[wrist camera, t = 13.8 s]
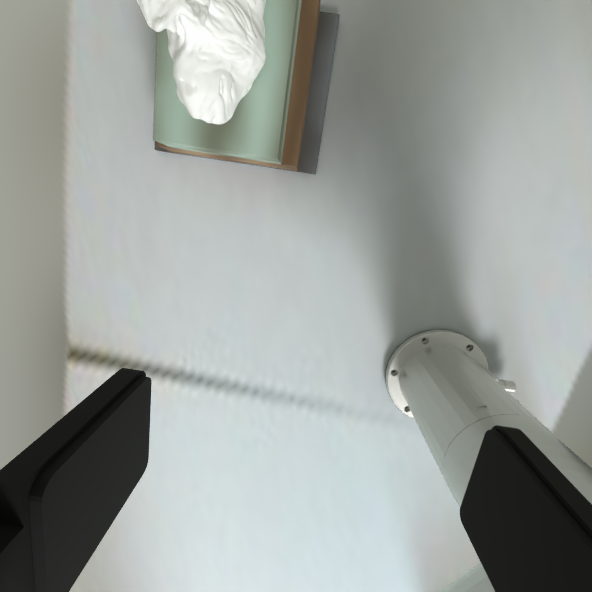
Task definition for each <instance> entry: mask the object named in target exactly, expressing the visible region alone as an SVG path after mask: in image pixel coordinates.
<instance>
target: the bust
mask: <svg viewBox="0 0 592 592" xmlns="http://www.w3.org/2000/svg"><path fill="white" fill-rule="evenodd" d="M137 2H138V4H139V6H140V8H141V10H142V13H143V15H144V17H145V20H146V22H147V24H148V25H149V27H151V28H152V29H154V30H155V31H156V32H160V31H162V30H164V29H167V34H168V40H169V41H168V50H169V53H170V56H171V58H172V59H173V62H174V63H173V77H174V79H175V81H176V85H177V94H178V97H179V99H180V101H181V102H182V103H183V104H184V105H185V106H186V108H187V110H188V112H189V113H190V115H191V116H192V117H193V118H195V119H201V120H203V121H205V122H207V123H213V124H224V123H226V122H227V121H229V120H230V119H231V117H232V116H233V114H234V111H235V109H236V107H237V105H238V103H239V102H240V100H241V99H242V98H243V97H244V96H245V95H246V94H247V93H248V92H249V90H250V89H251V87H252V84H253V82H254V80H255V79H256V77H257V76H258V74H259V72H260V70H261V69H262V67H263V66H264V63H265V59H266V54H265V25H264V20H263V15H264V8H265V3H266V0H137Z"/></svg>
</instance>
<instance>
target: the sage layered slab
mask: <svg viewBox="0 0 592 592" xmlns="http://www.w3.org/2000/svg"><path fill="white" fill-rule="evenodd" d="M339 16H340V15H338V14H332V13H325V12H320V0H266V3H265V8H264V15H263V20H264V25H265V54H266V59H265V63H264V66H263V67H262V69H261V70H260V72H259V74H258V76H257V77H256V79H255V80H254V82H253V84H252V87H251V89H250V90H249V92H248V93H247V94H246V95H245V96H244V97H243V98H242V99H241V100H240V102H239V103H238V105H237V107H236V109H235V111H234V114H233V116H232V117H231V119H230V120H229V121H227V122H226V123H224V124H213V123H207V122H205V121H203V120H201V119H195V118H193V117H192V116H191V115H190V113H189V112H188V110H187V108H186V106H185V105H184V104H183V103H182V102H181V101H180V99H179V97H178V94H177V85H176V81H175V79H174V77H173V63H174V62H173V59H172V58H171V56H170V53H169V50H168V41H169V40H168V34H167V29H164V30H162V31H160V32H157V44H156V74H155V104H154V134H153V140H155V150H157V151H163V152H170V153H177V154H183V155H190V156H197V157H203V158H210V159H217V160H223V161H230V162H237V163H244V164H250V165H257V166H264V167H270V168H277V169H284V170H290V171H297V172H304V173H311V174H316V168H317V162H318V155H319V148H320V142H321V135H322V129H323V122H324V115H325V109H326V102H327V95H328V89H329V82H330V75H331V69H332V62H333V56H334V49H335V42H336V36H337V29H338V22H339Z"/></svg>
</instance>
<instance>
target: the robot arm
mask: <svg viewBox="0 0 592 592" xmlns="http://www.w3.org/2000/svg"><path fill="white" fill-rule="evenodd" d="M423 338H425V339H424V340H422V339H423ZM467 345H468V346H467ZM392 370H394V371H392ZM386 386H387V390H388V393H389V395H390V397H391V399H392V401H393V403H394V404H395V405H396V406H397V408H398V409H399V410H400V411H401V412H403V413H404V414H405V415H407V416H409V417H411V418H413V419H415V421H416V423H417V425H418V427H419V429H420V431H421V433H422V435H423V437H424V439H425V441H426V443H427V445H428V447H429V449H430V451H431V453H432V455H433V457H434V459H435V461H436V463H437V465H438V467H439V469H440V471H441V473H442V475H443V477H444V479H445V481H446V483H447V485H448V487H449V489H450V491H451V493H452V495H453V497H454V498H455V500H456V502H457V503H458V505H459V506H460V518H461V521H462V524H463V526H464V528H465V530H466V532H467V534H468V536H469V538H470V541H471V543H472V545H473V547H474V549H475V551H476V553H477V555H478V557H479V559H480V561H481V563H480V564H479V565H477V566H476V567H475V568H473V569H472V570H470V571H469V572H467V573H466V574H464V575H463V576H462V577H460V578H459V579H457V580H456V581H454V582H453V583H451V584H450V585H449V586H447V587H446V588H444V589H443V590H441V591H440V592H592V468H591V467H590V466H589V465H588V464H587V463H586V462H584V461H583V460H582V459H581V458H580V457H579V456H578V455H576V454H575V453H574V452H573V451H572V450H571V449H570V448H568V447H567V446H566V445H565V444H564V443H563V442H562V441H561V440H560V439H558V438H557V437H556V436H555V435H554V434H553V433H552V432H551V431H550V430H549V429H548V428H546V427H545V426H544V425H543V424H542V423H541V422H540V421H539V420H538V419H537V418H536V417H534V416H533V415H532V414H531V413H530V412H529V411H528V410H527V409H526V408H525V407H524V406H523V405H522V404H520V402H519V401H518V400H517V399H515V398H514V397H513V396H512V395H511V394H510V393H514V392H515V390H516V385H515V383H514V382H513V381H507V380H498V379H497V378H496V377H495V376H494V375H493V374H492V373H491V372H490V371H489V366H488V363H487V360H486V357H485V355H484V354H483V352H482V350H481V349H480V348H479V347H478V346H477V345H476V344H475V343H474V342H473V341H471V340H470V339H469V338H467V337H465V336H464V335H462V334H460V333H457V332H454V331H449V330H430V331H425V332H422V333H419V334H417V335H414V336H413V337H411V338H409V339H408V340H406V341H405V342H404V343H402V344H401V345H400V346H399V347H398V348H397V349H396V351H395V352H394V353H393V355H392V357H391V358H390V360H389V362H388V366H387V369H386ZM150 404H151V378H149V377H146V374H145V372H144V371H140V370H133V369H126V368H122V369H120V370H119V371H118V372H116V373H115V374H114V375H113V376H112V377H110V378H109V379H108V380H107V381H106V382H104V383H103V384H102V385H101V386H100V387H99V388H97V389H96V390H95V391H94V392H93V393H91V394H90V395H89V396H88V397H87V398H85V399H84V400H83V401H82V402H81V403H80V404H78V405H77V406H76V407H75V408H74V409H72V410H71V411H70V412H69V413H68V414H66V415H65V416H64V417H63V418H62V419H60V421H58V422H57V423H56V424H55V425H53V426H52V427H51V428H50V429H49V430H47V431H46V432H45V433H44V434H43V435H41V436H40V437H39V438H38V439H37V440H36V441H34V442H33V443H32V444H31V445H30V446H28V447H27V448H26V449H25V450H24V451H22V452H21V453H20V454H19V455H18V456H16V457H15V458H14V459H13V460H12V461H11V462H9V463H8V464H7V465H6V466H5V467H3V468H2V469H1V470H0V592H69V591H70V589H71V587H72V586H73V584H74V583H75V581H76V579H77V578H78V576H79V575H80V573H81V572H82V570H83V568H84V567H85V565H86V564H87V562H88V560H89V559H90V557H91V556H92V554H93V553H94V551H95V549H96V548H97V546H98V545H99V543H100V542H101V540H102V538H103V537H104V535H105V534H106V532H107V530H108V529H109V527H110V526H111V524H112V523H113V521H114V519H115V518H116V516H117V515H118V513H119V511H120V510H121V508H122V507H123V505H124V504H125V502H126V500H127V499H128V497H129V496H130V494H131V493H132V491H133V489H134V488H135V486H136V485H137V483H138V481H139V480H140V478H141V477H142V475H143V473H144V472H145V469H146V467H147V463H148V455H149V429H150Z"/></svg>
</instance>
